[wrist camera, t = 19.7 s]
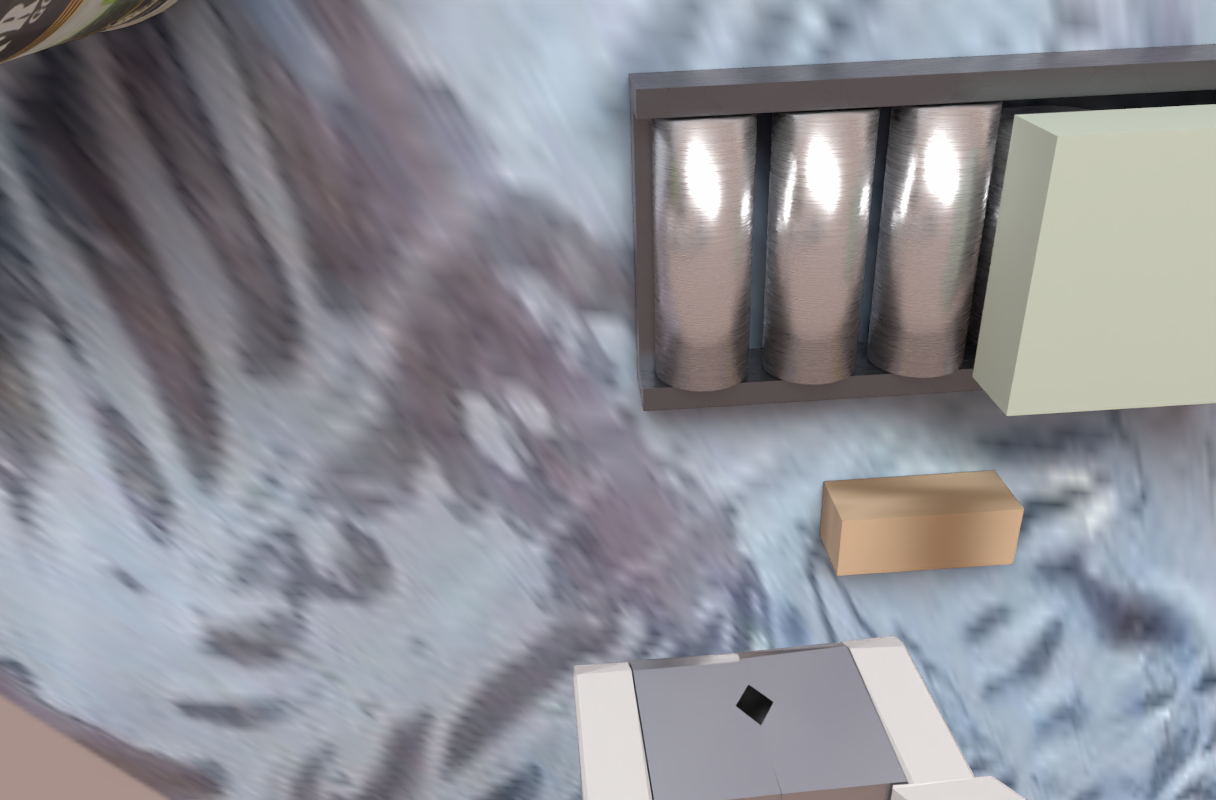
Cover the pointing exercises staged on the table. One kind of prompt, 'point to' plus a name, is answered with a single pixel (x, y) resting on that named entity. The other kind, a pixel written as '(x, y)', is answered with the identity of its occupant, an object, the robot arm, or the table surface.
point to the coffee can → (65, 21)
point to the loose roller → (998, 206)
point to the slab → (1103, 263)
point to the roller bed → (833, 216)
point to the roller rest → (919, 522)
